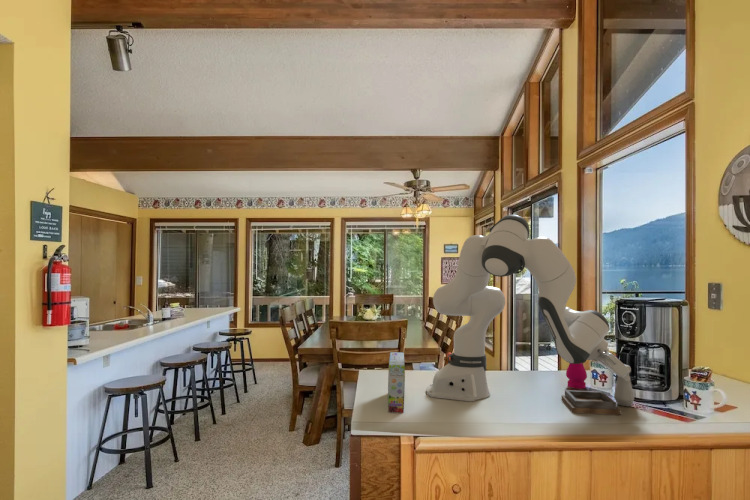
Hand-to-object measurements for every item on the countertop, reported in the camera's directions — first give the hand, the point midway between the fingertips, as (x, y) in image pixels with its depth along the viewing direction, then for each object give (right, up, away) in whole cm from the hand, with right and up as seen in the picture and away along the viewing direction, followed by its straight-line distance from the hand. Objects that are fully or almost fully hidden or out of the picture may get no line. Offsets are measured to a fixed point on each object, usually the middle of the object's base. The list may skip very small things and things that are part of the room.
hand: (625, 377), depth 141 cm
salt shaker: (-1, -9, 0) cm, 9 cm away
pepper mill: (-6, -10, +22) cm, 25 cm away
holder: (-13, -9, -2) cm, 16 cm away
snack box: (-76, -9, +3) cm, 77 cm away
